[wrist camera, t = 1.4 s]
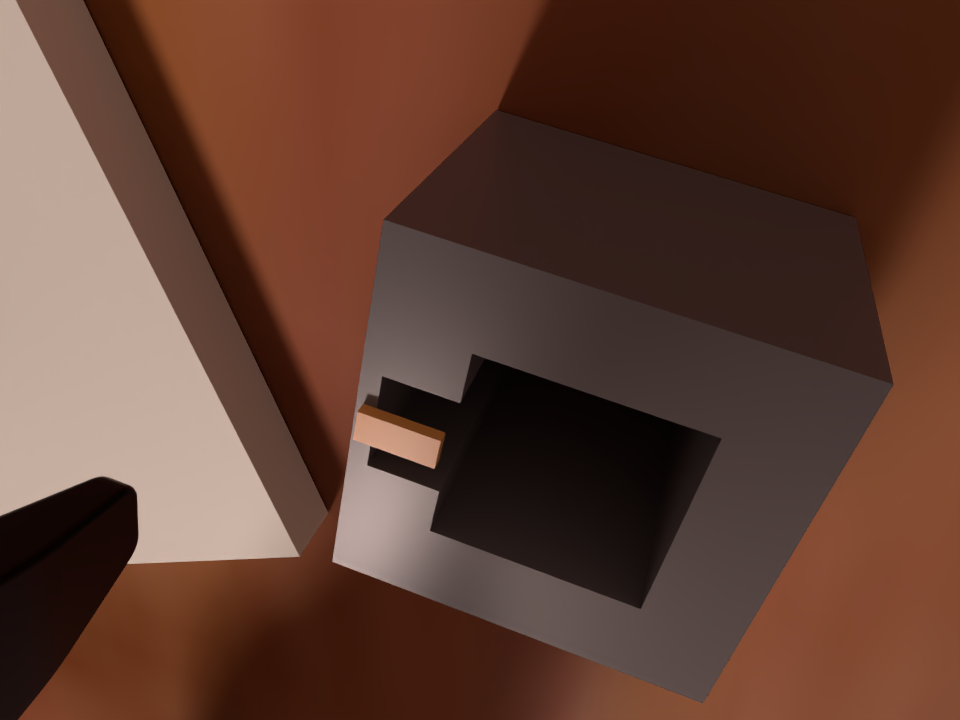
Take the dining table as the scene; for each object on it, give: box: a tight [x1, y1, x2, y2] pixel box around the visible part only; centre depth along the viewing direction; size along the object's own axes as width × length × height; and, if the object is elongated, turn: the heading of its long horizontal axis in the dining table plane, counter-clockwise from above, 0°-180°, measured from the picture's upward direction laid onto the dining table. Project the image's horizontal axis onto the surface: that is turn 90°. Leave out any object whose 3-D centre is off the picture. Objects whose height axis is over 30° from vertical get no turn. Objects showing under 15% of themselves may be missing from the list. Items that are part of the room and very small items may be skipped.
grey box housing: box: [332, 110, 893, 703], centre depth 13 cm, size 6×6×5 cm
